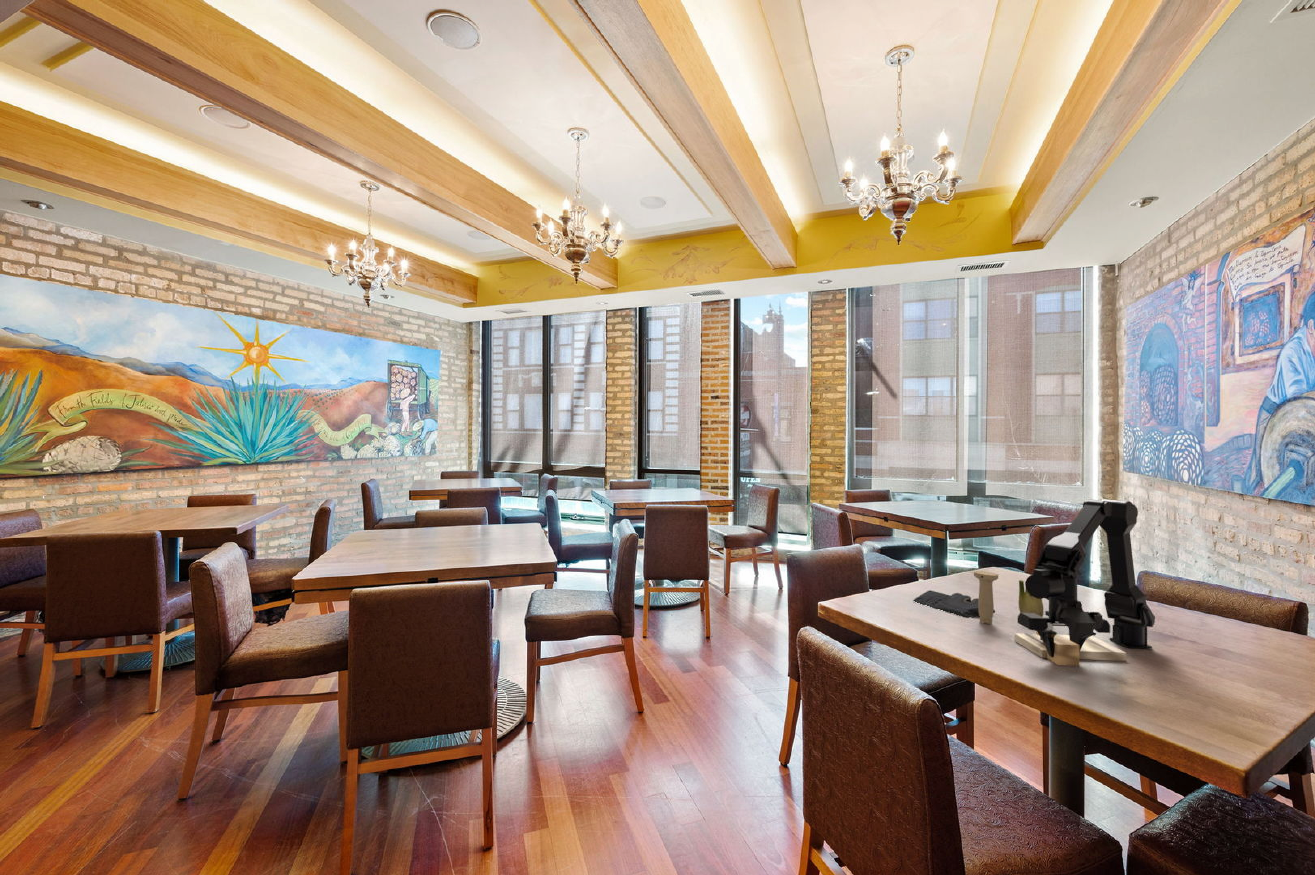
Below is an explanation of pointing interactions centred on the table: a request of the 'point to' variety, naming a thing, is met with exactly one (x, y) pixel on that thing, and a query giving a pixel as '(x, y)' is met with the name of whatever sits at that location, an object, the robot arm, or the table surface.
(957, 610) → the dark slate chunk
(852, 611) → the table surface
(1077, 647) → the marking gauge
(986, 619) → the handle
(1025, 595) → the fennel bulb
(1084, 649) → the ash plank
